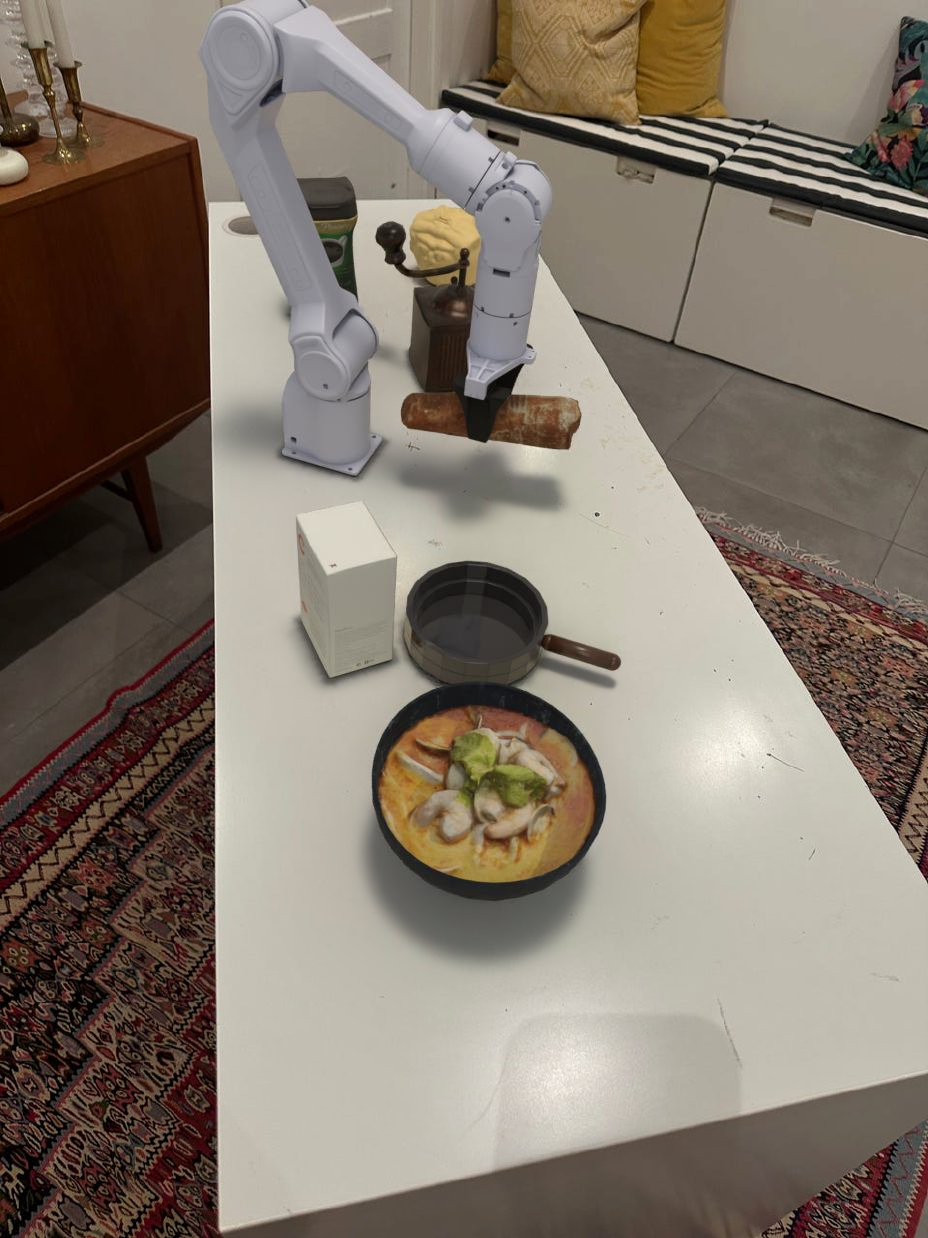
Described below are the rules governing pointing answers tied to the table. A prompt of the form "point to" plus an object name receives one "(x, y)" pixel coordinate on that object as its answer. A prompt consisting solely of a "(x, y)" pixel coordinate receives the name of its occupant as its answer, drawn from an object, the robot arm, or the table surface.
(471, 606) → the pan
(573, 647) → the pan handle
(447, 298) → the manual coffee grinder
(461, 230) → the sculpture
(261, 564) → the table surface
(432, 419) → the bread
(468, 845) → the bowl
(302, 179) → the coffee jar
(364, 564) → the small box
